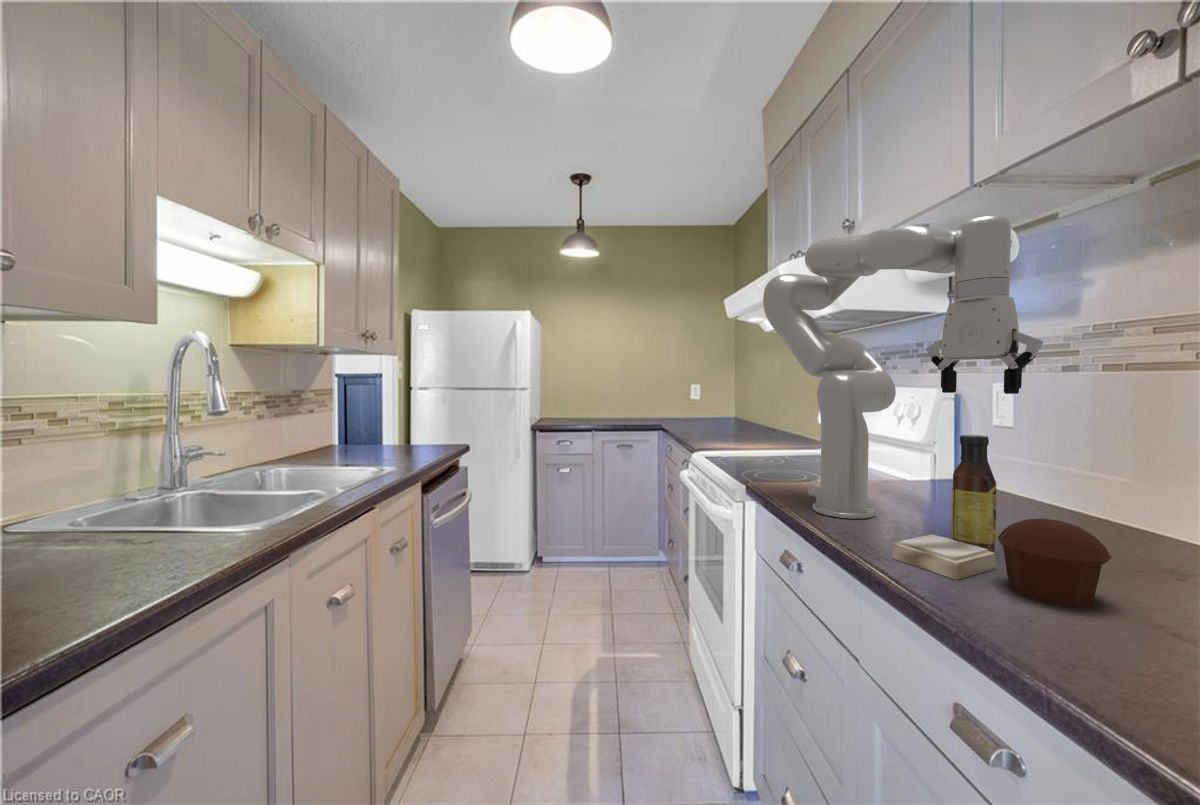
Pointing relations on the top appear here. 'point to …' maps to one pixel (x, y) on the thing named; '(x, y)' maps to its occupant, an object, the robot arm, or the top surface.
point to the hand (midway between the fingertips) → (978, 393)
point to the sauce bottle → (974, 495)
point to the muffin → (1053, 561)
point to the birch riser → (944, 556)
